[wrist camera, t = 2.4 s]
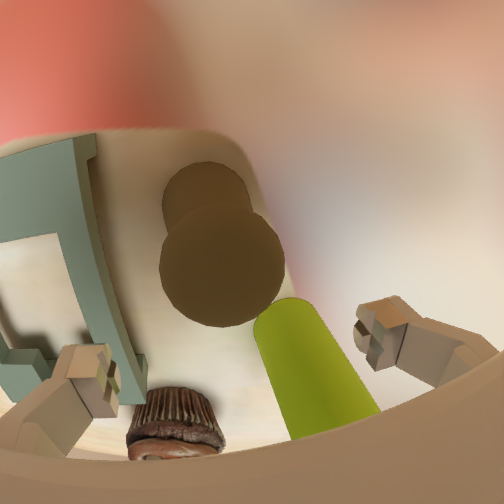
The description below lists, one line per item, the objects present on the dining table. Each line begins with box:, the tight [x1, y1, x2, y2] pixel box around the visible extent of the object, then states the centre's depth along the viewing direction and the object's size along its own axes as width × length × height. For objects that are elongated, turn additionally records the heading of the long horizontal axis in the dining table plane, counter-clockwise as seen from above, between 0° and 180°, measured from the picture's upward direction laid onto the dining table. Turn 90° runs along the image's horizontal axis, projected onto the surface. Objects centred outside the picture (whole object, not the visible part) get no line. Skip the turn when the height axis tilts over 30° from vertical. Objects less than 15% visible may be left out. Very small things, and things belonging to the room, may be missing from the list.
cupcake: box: [126, 387, 226, 461], centre depth 25 cm, size 10×10×10 cm
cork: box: [159, 162, 285, 328], centre depth 16 cm, size 6×6×11 cm
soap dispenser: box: [254, 298, 381, 440], centre depth 18 cm, size 6×7×20 cm
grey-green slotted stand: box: [0, 133, 148, 405], centre depth 18 cm, size 20×14×4 cm
